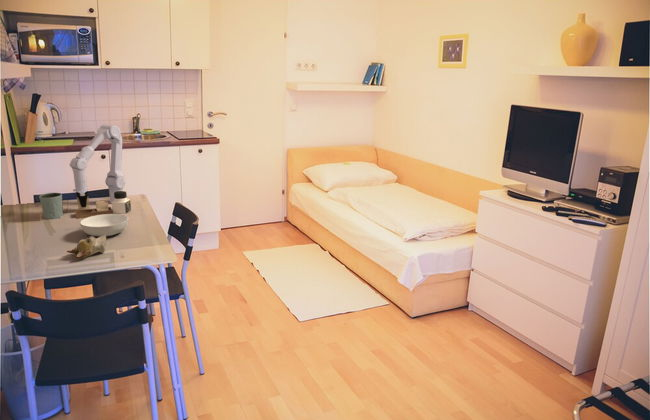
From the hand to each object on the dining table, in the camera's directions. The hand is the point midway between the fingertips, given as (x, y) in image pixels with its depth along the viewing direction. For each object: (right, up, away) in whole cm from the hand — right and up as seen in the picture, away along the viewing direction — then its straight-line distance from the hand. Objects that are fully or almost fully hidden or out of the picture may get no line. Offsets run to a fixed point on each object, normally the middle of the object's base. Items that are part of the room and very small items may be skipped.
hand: (83, 206), depth 272 cm
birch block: (0, -2, 0) cm, 2 cm away
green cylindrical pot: (-11, -6, -9) cm, 16 cm away
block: (+12, -4, -3) cm, 13 cm away
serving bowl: (+25, -13, -31) cm, 42 cm away
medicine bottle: (+20, -4, 0) cm, 21 cm away
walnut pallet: (+8, -5, -5) cm, 11 cm away
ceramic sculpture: (+29, -21, -57) cm, 67 cm away
